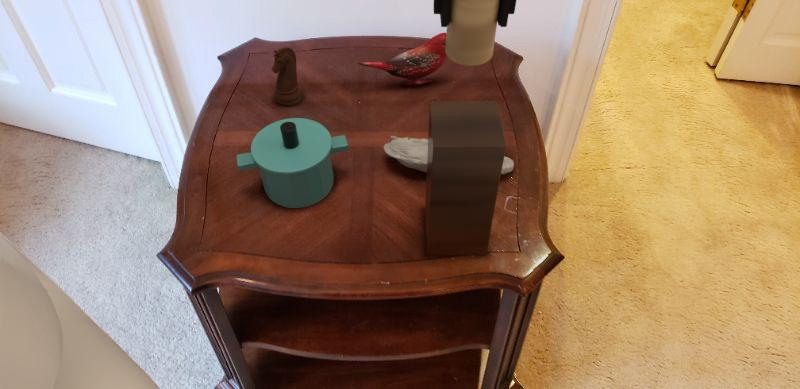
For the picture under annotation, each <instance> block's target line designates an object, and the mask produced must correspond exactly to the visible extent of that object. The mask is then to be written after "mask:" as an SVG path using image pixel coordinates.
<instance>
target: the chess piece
mask: <svg viewBox="0 0 800 389" xmlns="http://www.w3.org/2000/svg"><path fill="white" fill-rule="evenodd" d="M273 52H274V54H273V55H272V57H274V62H273V65H272V67H271V71H272V73H274V74H277V77H276V82H275V92H274V93H275V95H274V96H275V100H276V102H277V104H279V105H282V106H285V107H290V106H295V105H297V104H299V103H300V101H301V100H302V98H303V93H302V90H301V88H300V86H299V84H298V74H297V56H296V52H295V51H294V50H293V49H292V48H290V47H288V46H284V47H281V48H278V49H277V50H273Z"/></svg>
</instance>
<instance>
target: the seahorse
mask: <svg viewBox="0 0 800 389" xmlns="http://www.w3.org/2000/svg"><path fill="white" fill-rule="evenodd" d="M390 139H391V141H389V142H387V143H385V144H384V145H383V150H384V153H385V154H386V155H387V156H388V157H389V158H393V159H395V160H396V161H397V162H399V163H400V164H401V165H403V166H404V167H406V168H410V169H413V170H417V171H420V172H424V173H426V174H427V155H428V138H424V137H423V138H416V137H415V138H414V137H409V136H405V137H398V136H396V135H390ZM514 166H515V163H514V160H513V159H512V158H509V157H507V156H506V155H505V156H504V161H503V166H502V172H501V175H503V176H505V175H506V174H508V173H512V172H513V170H514Z"/></svg>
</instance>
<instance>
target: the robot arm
mask: <svg viewBox="0 0 800 389" xmlns="http://www.w3.org/2000/svg"><path fill="white" fill-rule="evenodd" d="M450 6H451V0H433V15H439V18H440V19H439V20H440V27H441V28H447V26H449V19H450ZM516 6H517V0H500V7H499V14H498V21H497V26H500V28H507V26H508V22H509V21H508V20H509V15H514V14H515V11H516ZM0 389H161V387H159V386H158V384H157V383H156V382H155V380H154V379H152V377H151V376H150V375H149V373H147V372H146V371H145V370H144V369H143V368H142V367H141V366H140V365H139V364H138V363H137V362H136V361H135V360H134V359H133V358H132V357H131V356H130V355H129V354H128V353H127V352H126V351H125V350H124V349H123V348H122V347H121V345H119V344H118V343H117V342H116V340H114V339H113V338H112V337H111V336H110V335H109V333H107V332H106V331H105V330H104V329H103V328H101V327H100V326H99V325H98V324H97V323H96V321H94V320H93V319H92V318H91V317H90V315H88V313H86V312H85V311H84V309H82V308H81V306H80V305H78V304H77V302H75V301H74V300H73V298H71V297H70V295H68V293H67V292H65V290H63V289H62V288H61V286H59V285H58V284H57V283H56V282H55V281H54V280H52V278H50V276H48V275H47V274H46V273H45V272H44V271H43V270H42V269H40V267H39V266H38V265H36V264H35V263H34V262H33V261H32V260H31V259H30V258H29V257H28V256H27V255H25V253H23V251H21V250H20V249H19V248H18V247H17V246H16V245H15V244H14V243H13V242H12V241H11V240H10V239H9V238H7V237H6V236H5V235H4V233H2V232H1V231H0Z"/></svg>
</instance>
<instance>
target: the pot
mask: <svg viewBox="0 0 800 389" xmlns="http://www.w3.org/2000/svg"><path fill="white" fill-rule="evenodd" d="M331 140H332V147H331V151H330V153H329V155H328V156H327V158H326V159H325V160H324V161H323V162H322V163H321V164H319V165H318V166H316V167H315V168H313V169H311V170H308V171H305V172H302V173H298V174H291V175H281V174H275V173H271V172H268V171H266V170H264V169H262V168H261V167H259V166H258V165H257V164H256V162H255V161H254V159H253V157H252V154H251V151H249V152H245V153H240V154H236V164H237V165H236V166H237V168H238V171H239V172H241V171H242V172H243V171H247V170H252V169H257V168H258V170H259V175H260V179H261V183H262V186H263V189H264V192H265V194H266V196H267V197H268V198H269V199H270V201H271V202H273V203H275V204H276V205H278V206H281V207H284V208H288V209H289V208H290V209H301V208H306V207H310V206H313V205H315V204H317V203H319V202H321V201H322V200H323V199H325V198H326V197H327V196H328V195H329V193H330V192H331V191H332V188H333V185H334V178H335V177H334V171H333V164H332V163H333V162H332V157H331V154H334V153H340V152H345V151H349V143H348V140H347V138H346V135H345V134H342V135H336V136H331Z"/></svg>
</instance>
